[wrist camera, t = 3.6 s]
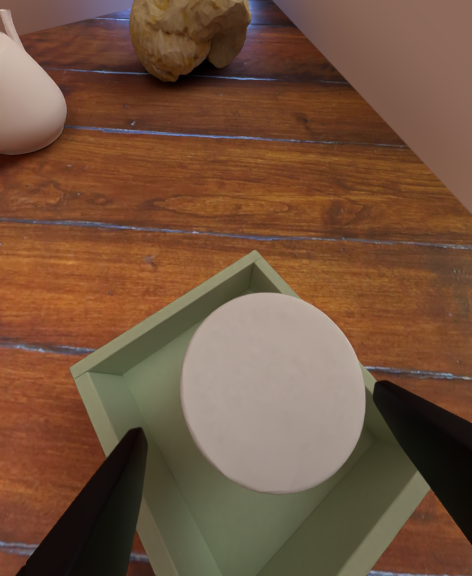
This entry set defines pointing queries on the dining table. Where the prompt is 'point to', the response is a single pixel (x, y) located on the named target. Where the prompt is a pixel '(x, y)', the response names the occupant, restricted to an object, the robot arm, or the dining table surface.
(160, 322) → the open box
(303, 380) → the pill bottle
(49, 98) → the teapot
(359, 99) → the dining table surface
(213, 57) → the seashell
